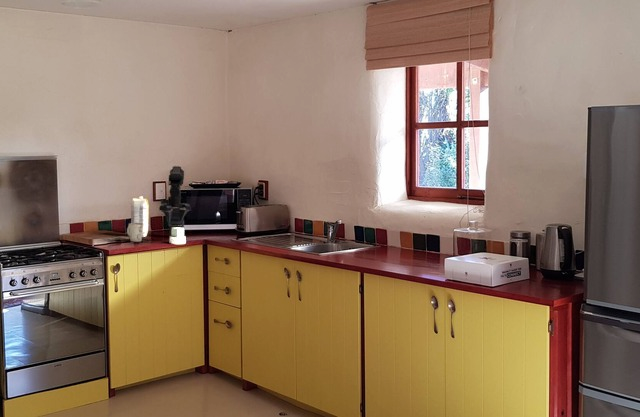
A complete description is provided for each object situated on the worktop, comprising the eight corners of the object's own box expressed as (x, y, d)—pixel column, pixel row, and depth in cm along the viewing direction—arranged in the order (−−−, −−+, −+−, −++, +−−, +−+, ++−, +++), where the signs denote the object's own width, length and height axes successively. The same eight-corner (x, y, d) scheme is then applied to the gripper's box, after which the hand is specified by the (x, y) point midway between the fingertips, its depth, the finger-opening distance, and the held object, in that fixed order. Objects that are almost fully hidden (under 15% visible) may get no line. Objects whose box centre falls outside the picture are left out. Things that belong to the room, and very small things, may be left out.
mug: (134, 242, 424) (135, 225, 423) (120, 239, 431) (120, 222, 430) (146, 241, 430) (146, 224, 429) (132, 238, 438) (132, 221, 437)
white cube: (178, 235, 431) (178, 227, 431) (184, 236, 428) (184, 228, 428) (171, 236, 428) (171, 227, 427) (177, 237, 424) (177, 228, 424)
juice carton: (148, 235, 452) (149, 196, 449) (146, 237, 444) (146, 197, 441) (133, 235, 452) (133, 195, 449) (130, 237, 444) (130, 196, 441)
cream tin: (178, 241, 435) (178, 235, 434) (188, 243, 429) (189, 237, 429) (166, 243, 428) (166, 236, 427) (176, 245, 422) (176, 238, 422)
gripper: (178, 193, 439) (177, 219, 441) (153, 194, 424) (152, 221, 426) (191, 194, 433) (190, 221, 434) (166, 196, 418) (165, 224, 420)
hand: (174, 222), depth 429 cm, fingers open, 9 cm apart
